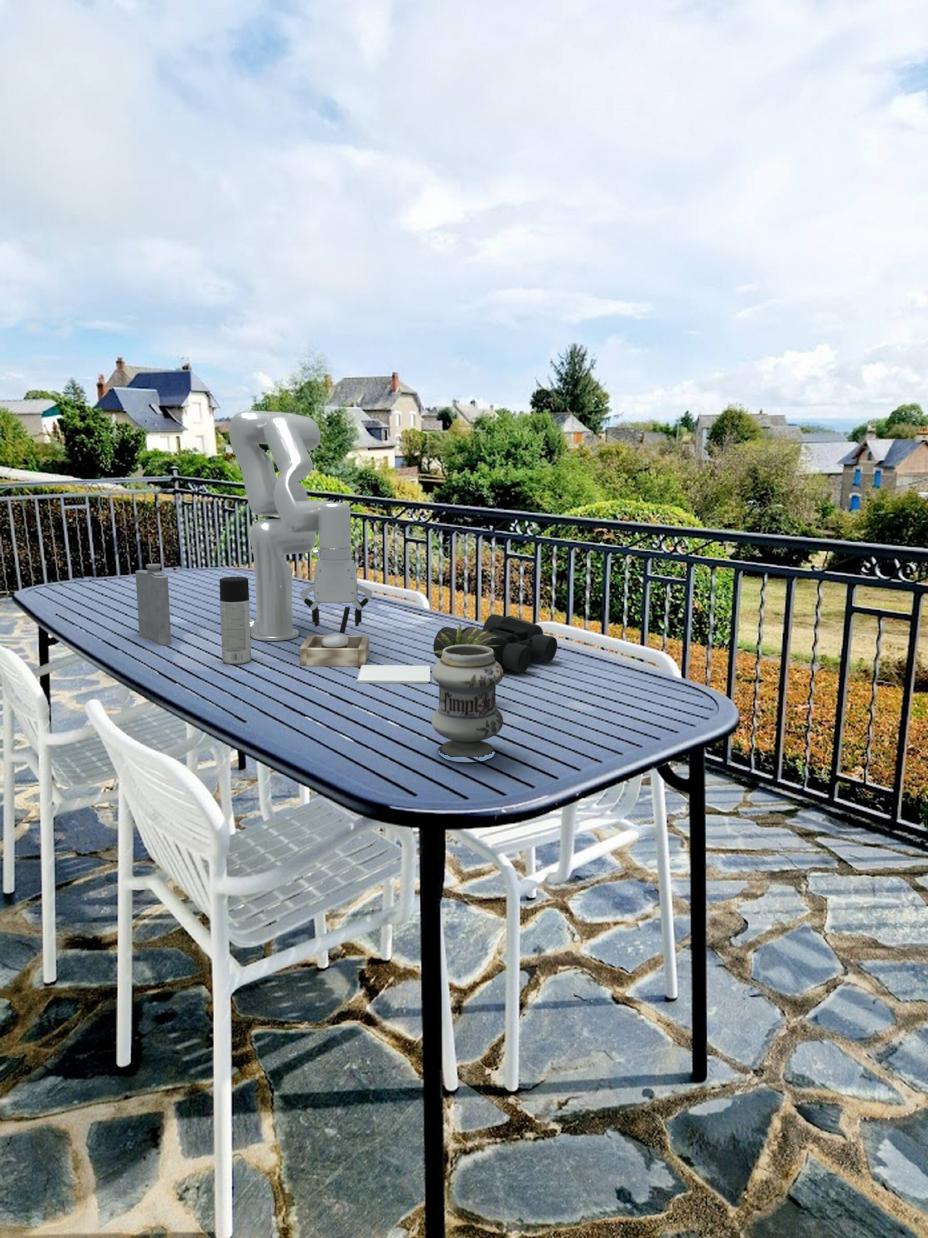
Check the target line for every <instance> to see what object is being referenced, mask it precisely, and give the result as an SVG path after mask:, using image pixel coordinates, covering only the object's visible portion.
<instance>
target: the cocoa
mask: <svg viewBox="0 0 928 1238" xmlns="http://www.w3.org/2000/svg"><path fill="white" fill-rule="evenodd" d="M350 611H351V607H350V606H345V607H344V610H343V616H342V618H341V623H340V624H341V625H340V629H339V632H333V633H330V634H327V635H328V636H326V637H324V638H323V639H322V648H347V644H348V637H347V636H348V635H347V634H346V629H347V625H348V619H349V615H350ZM346 635H347V636H346Z"/></svg>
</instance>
